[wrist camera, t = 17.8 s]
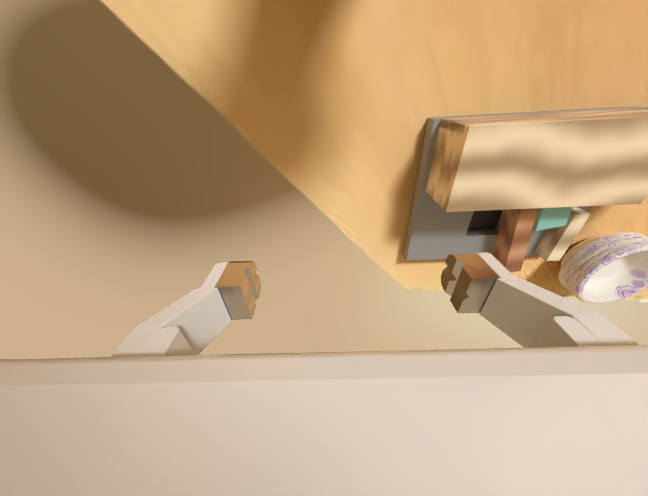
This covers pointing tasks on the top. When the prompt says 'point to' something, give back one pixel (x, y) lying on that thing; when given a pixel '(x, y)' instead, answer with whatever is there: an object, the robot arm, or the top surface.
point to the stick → (561, 236)
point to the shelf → (541, 161)
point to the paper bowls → (606, 267)
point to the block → (552, 217)
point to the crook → (514, 237)
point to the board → (457, 227)
